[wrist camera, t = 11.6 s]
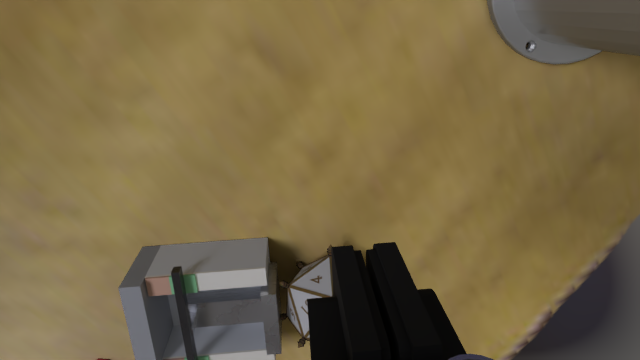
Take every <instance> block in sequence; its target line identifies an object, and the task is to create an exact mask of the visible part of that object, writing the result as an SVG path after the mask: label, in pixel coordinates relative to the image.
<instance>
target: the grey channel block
mask: <svg viewBox="0 0 640 360" xmlns="http://www.w3.org/2000/svg"><path fill="white" fill-rule="evenodd" d="M171 277H172V282H173V287H174V293H175V298H176V303H177V309H178V314H179V319H180V325H181V330H182V335H183V341H184V346H185V351H186V357H187V360H198V357H197V351H196V346H195V340H194V331H195V328H198V327H210V326H222V325H234V324H246V323H258V322H263V324H264V333H265V342H266V351H267V355H270V354H281V343H282V320H281V319H280V314H282V313H281V302H280V291H279V281H278V270H277V262H269V264H268V280H267V286H255V287H242V288H230V289H217V290H205V291H198V292H197V293H188V295H186V289H185V284H184V278H183V272H182V267H181V266H177V267H173V269H172V272H171Z"/></svg>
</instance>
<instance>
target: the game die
mask: <svg viewBox="0 0 640 360" xmlns="http://www.w3.org/2000/svg"><path fill="white" fill-rule="evenodd" d="M331 248H332V246H331V245H330V246H329V248H328V249H327V250H328V251H327V252H328V255H327V256H325V257H323V258H321V259H319V260H317V261H315V262H312V263H310V264H308V265H306V266H303V264H302V262H298V261H297V265H296V266H298V268H300V271H299V272H298V273H297V274H296V276H295V277H294V278H293V279H292V281H291V282H290V283H289V284H288V283H287V282H285V281H284V280H283V281H282V282H279V284H280V285H281V287H284V288H287V309H286V314H284V313H283V314H280V319H281V320H283V319H286V318H287V317H288V319H289V320H290V321H291V323H292V324H293V325H294V327H295V328H296V330H297V331H298V332H299V334H300V335H301V336H302V339H300V341H299V342H298V348H299V347H302V346H303V347H304V344H305V341H306V340H307V341H310V336H309V321H308V307H307V299H311V298H323V297H333V278H332V255H331Z"/></svg>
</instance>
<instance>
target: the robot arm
mask: <svg viewBox="0 0 640 360" xmlns="http://www.w3.org/2000/svg"><path fill="white" fill-rule="evenodd" d="M487 5H488V9H489V13H490V17H491V20H492V22H493V24H494V26H495V28H496V30H497V32H498V34H499V35H500V36H501V38H502V39H503V40H504V42H505V43H506V44H507V45H508V46H509V47H511V48H512V49H513V50H514V51H515V52H517V53H518V54H520V55H522V56H524V57H526V58H528V59H531V60H535V61H538V62H542V63H549V64H569V63H573V62H577V61H581V60H585V59H587V58H589V57H591V56H594V55H596V54H598V53H600V52H601V51H608V52H615V53H622V54H629V55H635V56H640V0H487ZM527 43H528V47H527V48H526V47H525V46H526V44H527ZM331 255H332V278H333V297H323V298H311V299H307V307H308V321H309V336H310V350H311V360H493V359H491V358H488V357H485V356H482V355H475V354H466V352H465V350H464V348H463V346H462V344H461V342H460V340H459V338H458V336H457V334H456V332H455V330H454V329H453V327H452V325H451V323H450V321H449V319H448V317H447V315H446V313H445V311H444V309H443V307H442V305H441V304H440V302H439V300H438V298H437V296H436V294H435V292H434V291H433V290H432V289H421V290H417V288H416V286H415V284H414V282H413V280H412V278H411V275H410V273H409V271H408V269H407V267H406V265H405V263H404V260H403V258H402V256H401V254H400V252H399V250H398V247H397V245H396V243H395V242H392V243H378V244H374V245H373V249H371V250H366V266H365V263H364V259H363V256H362V253H361V250H358V251H354V250H353V247H352V246H339V247H332V248H331Z"/></svg>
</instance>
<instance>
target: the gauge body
mask: <svg viewBox="0 0 640 360" xmlns="http://www.w3.org/2000/svg"><path fill="white" fill-rule="evenodd" d="M269 262H270V257H269V246H268V237H267V238H253V239H240V240H227V241H213V242H200V243H187V244H173V245H160V246H147V247H142V249H141V250H140V252H139V254H138V256H137V257H136V259H135V261H134V262H133V264H132V266H131V268H130V269H129V271H128V273H127V274H126V276H125V278H124V280H123V281H122V283H121V285H120V286H119V292H120V297H121V301H122V305H123V309H124V313H125V318H126V322H127V326H128V330H129V335H130V339H131V343H132V347H133V351H134V356H135V360H187V357H186V351H185V346H184V341H183V335H182V330H181V325H180V319H179V314H178V309H177V303H176V298H175V293H174V287H173V282H172V277H171V272H172V269H173V267H177V266H181V267H182V272H183V278H184V284H185V289H186V295H188V293H197V292H198V291H205V290H217V289H230V288H242V287H255V286H267V280H268V264H269ZM194 340H195V346H196V351H197V357H198V360H275V356H276V354H270V355H267V351H266V342H265V333H264V324H263V322H258V323H246V324H234V325H222V326H210V327H198V328H195V331H194Z"/></svg>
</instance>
